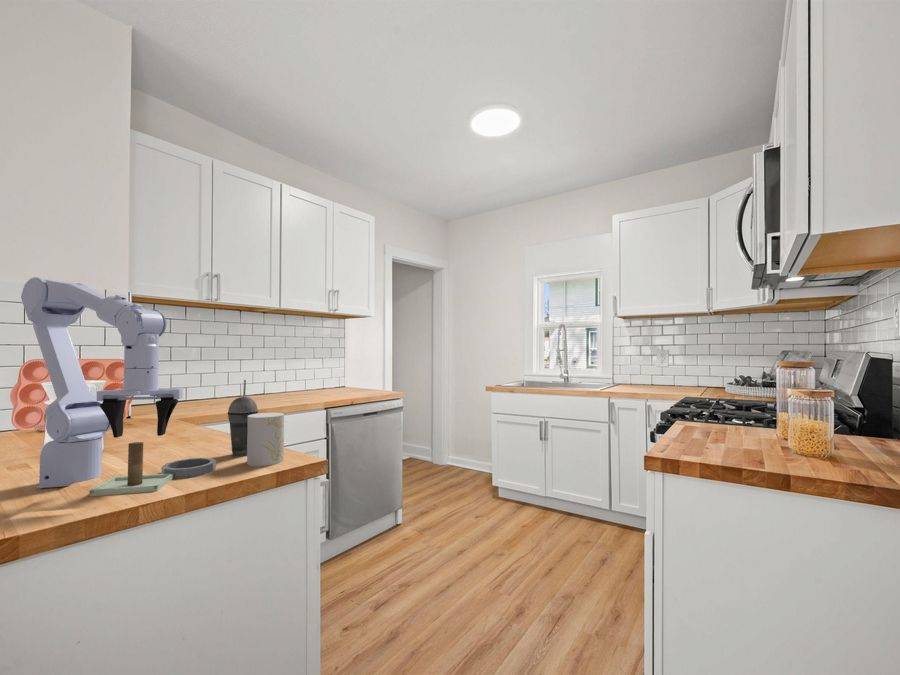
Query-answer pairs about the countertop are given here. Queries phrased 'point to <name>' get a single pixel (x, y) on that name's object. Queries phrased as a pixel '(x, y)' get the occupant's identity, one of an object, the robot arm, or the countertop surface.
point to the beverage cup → (240, 422)
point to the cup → (265, 439)
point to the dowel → (135, 463)
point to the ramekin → (189, 467)
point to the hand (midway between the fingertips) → (139, 435)
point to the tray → (120, 486)
